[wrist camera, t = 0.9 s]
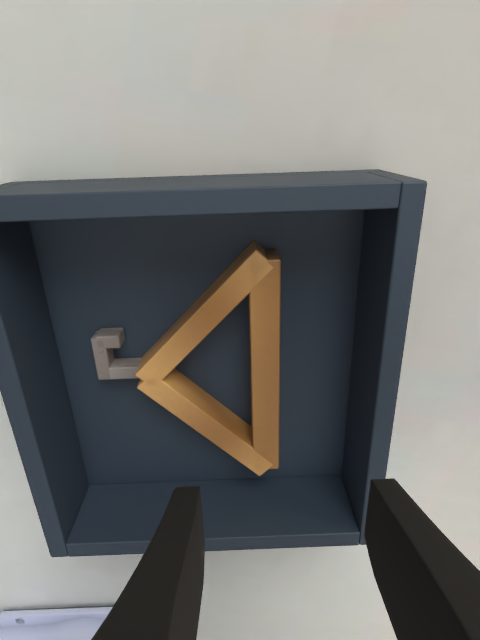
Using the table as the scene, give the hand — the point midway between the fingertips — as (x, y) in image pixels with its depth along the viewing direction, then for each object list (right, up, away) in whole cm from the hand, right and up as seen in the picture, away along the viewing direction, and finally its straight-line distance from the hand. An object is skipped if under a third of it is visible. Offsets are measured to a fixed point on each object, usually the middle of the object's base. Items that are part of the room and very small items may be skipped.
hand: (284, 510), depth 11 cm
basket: (-3, +4, +9) cm, 10 cm away
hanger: (-3, +3, +8) cm, 9 cm away
